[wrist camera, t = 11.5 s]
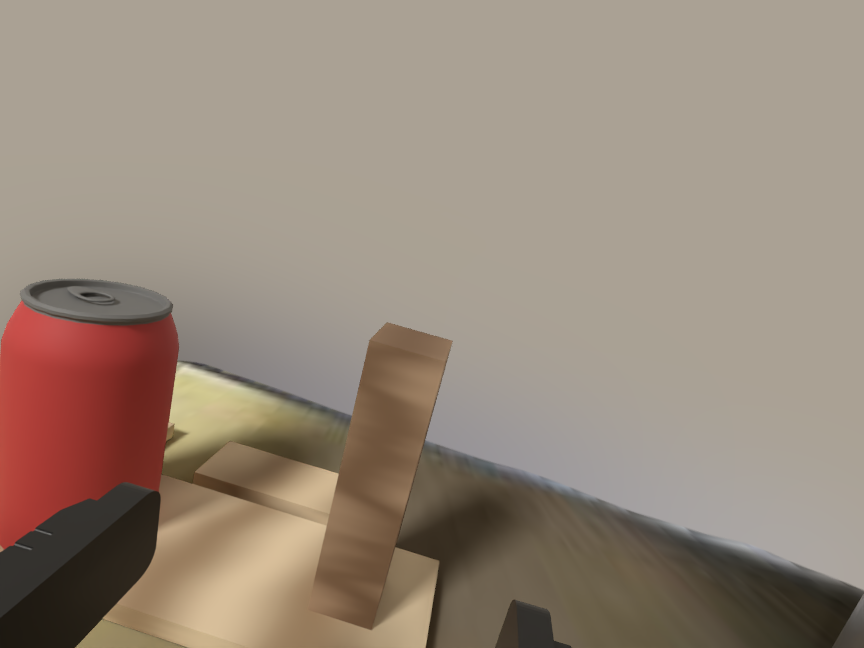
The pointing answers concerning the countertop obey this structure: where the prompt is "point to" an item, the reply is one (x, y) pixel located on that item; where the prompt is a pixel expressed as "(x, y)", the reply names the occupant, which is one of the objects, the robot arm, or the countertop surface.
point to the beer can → (81, 396)
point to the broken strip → (268, 480)
